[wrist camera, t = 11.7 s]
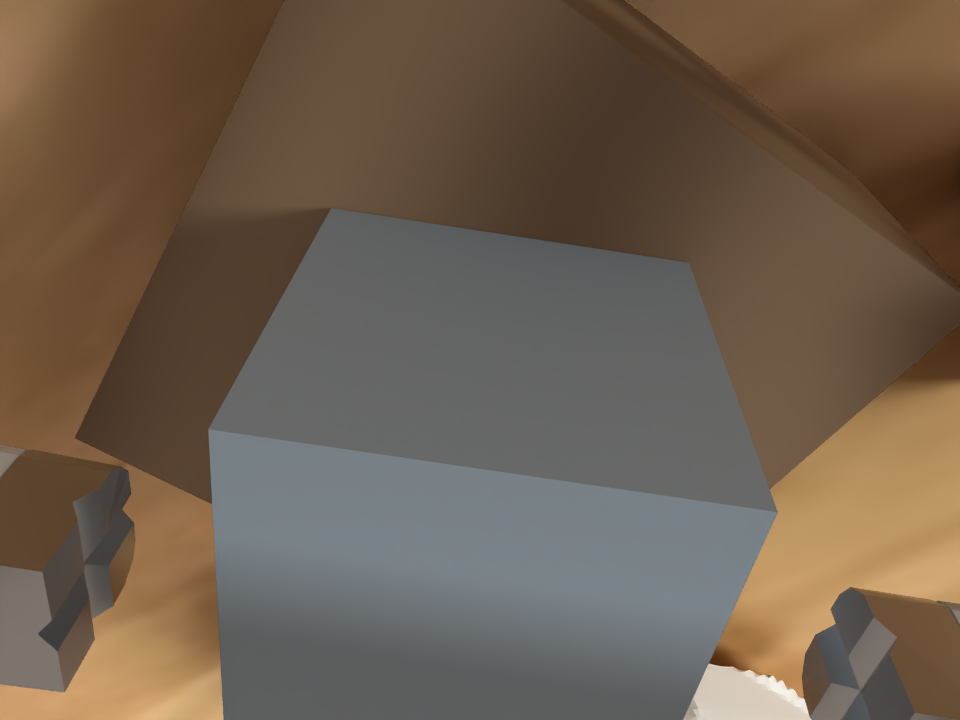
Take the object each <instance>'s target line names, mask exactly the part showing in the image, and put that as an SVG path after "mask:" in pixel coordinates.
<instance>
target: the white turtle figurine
mask: <svg viewBox="0 0 960 720" xmlns="http://www.w3.org/2000/svg"><path fill="white" fill-rule="evenodd" d="M683 720H812V719H811V718H810V717H809V713H808V710H807V706H806V703H805V699H804V698H800V697H799V696H797V694H796V692H795V691H794V690H793V689H791V688H786V686H785V684H784V682H783V681H782V680H776V679H775V677H773V676H772V675H758V674H756V673H754V672H753V671H750V670H739V669H736V668H734V667H733V666H731V667H724V666H717V665H713V664H708V666H707V669H706V671H705V673H704V675H703V677H702V680H701V682H700V684H699V686H698V688H697V691H696V693H695V695H694V697H693V699H692V702H691V704H690V706H689V708H688V710H687V712H686V715H685V717H684V719H683Z"/></svg>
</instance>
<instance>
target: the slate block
mask: <svg viewBox="0 0 960 720" xmlns="http://www.w3.org/2000/svg"><path fill="white" fill-rule="evenodd" d="M208 433H209V452H210V470H211V489H212V508H213V527H214V546H215V564H216V583H217V602H218V621H219V640H220V659H221V678H222V696H223V715H224V720H683V719H684V717H685V715H686V712H687V710H688V708H689V706H690V704H691V702H692V699H693V697H694V695H695V693H696V691H697V688H698V686H699V684H700V682H701V680H702V677H703V675H704V673H705V671H706V669H707V666H708V664H709V662H710V660H711V658H712V655H713V653H714V651H715V649H716V647H717V644H718V642H719V640H720V638H721V636H722V633H723V631H724V629H725V627H726V625H727V622H728V620H729V618H730V616H731V614H732V611H733V609H734V607H735V605H736V603H737V600H738V598H739V596H740V594H741V592H742V589H743V587H744V585H745V583H746V581H747V578H748V576H749V574H750V572H751V570H752V567H753V565H754V563H755V561H756V559H757V556H758V554H759V552H760V550H761V548H762V545H763V543H764V541H765V539H766V537H767V534H768V532H769V530H770V528H771V526H772V524H773V521H774V519H775V517H776V515H777V513H778V512H777V509H776V506H775V503H774V500H773V498H772V495H771V492H770V489H769V486H768V484H767V481H766V478H765V475H764V472H763V470H762V467H761V464H760V461H759V458H758V455H757V453H756V450H755V447H754V444H753V441H752V439H751V436H750V433H749V430H748V427H747V425H746V422H745V419H744V416H743V413H742V410H741V408H740V405H739V402H738V399H737V396H736V394H735V391H734V388H733V385H732V382H731V380H730V377H729V374H728V371H727V368H726V365H725V363H724V360H723V357H722V354H721V351H720V349H719V346H718V343H717V340H716V337H715V335H714V332H713V329H712V326H711V323H710V320H709V318H708V315H707V312H706V309H705V306H704V304H703V301H702V298H701V295H700V292H699V290H698V287H697V284H696V281H695V278H694V275H693V273H692V270H691V267H690V264H689V263H688V262H681V261H675V260H668V259H661V258H655V257H648V256H642V255H635V254H629V253H622V252H616V251H609V250H603V249H596V248H589V247H583V246H576V245H570V244H563V243H557V242H550V241H544V240H537V239H530V238H524V237H517V236H511V235H504V234H498V233H491V232H485V231H478V230H471V229H465V228H458V227H452V226H445V225H439V224H432V223H426V222H419V221H412V220H406V219H399V218H393V217H386V216H380V215H373V214H367V213H360V212H354V211H347V210H340V209H334V208H331V209H330V211H329V213H328V215H327V217H326V218H325V220H324V222H323V224H322V226H321V227H320V229H319V231H318V233H317V235H316V236H315V238H314V240H313V242H312V244H311V245H310V247H309V249H308V251H307V253H306V254H305V256H304V258H303V260H302V262H301V263H300V265H299V267H298V269H297V271H296V272H295V274H294V276H293V278H292V280H291V281H290V283H289V285H288V287H287V289H286V290H285V292H284V294H283V296H282V298H281V299H280V301H279V303H278V305H277V307H276V308H275V310H274V312H273V314H272V316H271V317H270V319H269V321H268V323H267V325H266V326H265V328H264V330H263V332H262V334H261V335H260V337H259V339H258V341H257V343H256V344H255V346H254V348H253V350H252V352H251V353H250V355H249V357H248V359H247V361H246V362H245V364H244V366H243V368H242V370H241V371H240V373H239V375H238V377H237V379H236V380H235V382H234V384H233V386H232V388H231V389H230V391H229V393H228V395H227V397H226V398H225V400H224V402H223V404H222V406H221V407H220V409H219V411H218V413H217V415H216V416H215V418H214V420H213V422H212V424H211V425H210V427H209V429H208Z"/></svg>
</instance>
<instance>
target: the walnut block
mask: <svg viewBox="0 0 960 720" xmlns="http://www.w3.org/2000/svg"><path fill="white" fill-rule="evenodd" d="M331 208H334V209H340V210H347V211H354V212H360V213H367V214H373V215H380V216H386V217H393V218H399V219H406V220H412V221H419V222H426V223H432V224H439V225H445V226H452V227H458V228H465V229H471V230H478V231H485V232H491V233H498V234H504V235H511V236H517V237H524V238H530V239H537V240H544V241H550V242H557V243H563V244H570V245H576V246H583V247H589V248H596V249H603V250H609V251H616V252H622V253H629V254H635V255H642V256H648V257H655V258H661V259H668V260H675V261H681V262H688V263H689V264H690V267H691V270H692V273H693V275H694V278H695V281H696V284H697V287H698V290H699V292H700V295H701V298H702V301H703V304H704V306H705V309H706V312H707V315H708V318H709V320H710V323H711V326H712V329H713V332H714V335H715V337H716V340H717V343H718V346H719V349H720V351H721V354H722V357H723V360H724V363H725V365H726V368H727V371H728V374H729V377H730V380H731V382H732V385H733V388H734V391H735V394H736V396H737V399H738V402H739V405H740V408H741V410H742V413H743V416H744V419H745V422H746V425H747V427H748V430H749V433H750V436H751V439H752V441H753V444H754V447H755V450H756V453H757V455H758V458H759V461H760V464H761V467H762V470H763V472H764V475H765V478H766V481H767V484H768V486H769V489H770V488H772V487H773V486H774V485H775V484H776V483H777V482H778V481H780V480H781V479H782V478H783V477H784V476H785V475H787V474H788V473H789V472H790V471H791V470H792V469H793V468H795V467H796V466H797V465H798V464H799V463H800V462H802V461H803V460H804V459H805V458H806V457H807V456H808V455H810V454H811V453H812V452H813V451H814V450H815V449H817V448H818V447H819V446H820V445H821V444H822V443H824V442H825V441H826V440H827V439H828V438H829V437H830V436H832V435H833V434H834V433H835V432H836V431H837V430H839V429H840V428H841V427H842V426H843V425H844V424H845V423H847V422H848V421H849V420H850V419H851V418H852V417H854V416H855V415H856V414H857V413H858V412H859V411H861V410H862V409H863V408H864V407H865V406H866V405H867V404H869V403H870V402H871V401H872V400H873V399H874V398H876V397H877V396H878V395H879V394H880V393H881V392H882V391H884V390H885V389H886V388H887V387H888V386H889V385H891V384H892V383H893V382H894V381H895V380H896V379H898V378H899V377H900V376H901V375H902V374H903V373H904V372H906V371H907V370H908V369H909V368H910V367H911V366H913V365H914V364H915V363H916V362H917V361H918V360H919V359H921V358H922V357H923V356H924V355H925V354H926V353H928V352H929V351H930V350H931V349H932V348H933V347H934V346H936V345H937V344H938V343H939V342H940V341H941V340H943V339H944V338H945V337H946V336H947V335H948V334H950V333H951V332H952V331H953V330H954V329H955V328H956V327H958V326H959V325H960V287H959V286H958V285H957V283H956V282H955V281H954V280H953V279H952V278H951V277H950V276H949V275H948V274H947V273H946V272H945V271H944V270H943V269H942V268H941V267H940V266H939V264H938V263H937V262H936V261H935V260H934V259H933V258H932V257H931V256H930V255H929V254H928V253H927V252H926V251H925V250H924V249H923V248H922V246H921V245H920V244H919V243H918V242H917V241H916V240H915V239H914V238H913V237H912V236H911V235H910V234H909V233H908V232H907V231H906V230H905V229H904V227H903V226H902V225H901V224H900V223H899V222H898V221H897V220H896V219H895V218H894V217H893V216H892V215H891V214H890V213H889V212H888V211H887V209H886V208H885V207H884V206H883V205H882V204H881V203H880V202H879V201H878V200H877V199H876V198H875V197H874V196H873V195H872V194H871V193H870V192H869V190H868V189H867V188H866V187H865V186H864V185H863V184H862V183H861V182H860V181H859V180H858V179H857V178H856V177H855V176H854V175H853V174H852V172H851V171H850V170H849V169H848V168H846V167H845V166H844V165H842V164H841V163H840V162H838V161H837V160H836V159H834V158H833V157H832V156H830V155H829V154H828V153H826V152H825V151H824V150H822V149H821V148H820V147H818V146H817V145H816V144H814V143H813V142H812V141H810V140H809V139H808V138H806V137H805V136H804V135H802V134H801V133H800V132H798V131H797V130H796V129H794V128H793V127H792V126H790V125H789V124H788V123H786V122H785V121H784V120H782V119H781V118H780V117H779V116H777V115H776V114H775V113H773V112H772V111H771V110H769V109H768V108H767V107H765V106H764V105H763V104H761V103H760V102H759V101H757V100H756V99H755V98H753V97H752V96H751V95H749V94H748V93H747V92H745V91H744V90H743V89H741V88H740V87H739V86H737V85H736V84H735V83H733V82H732V81H731V80H729V79H728V78H727V77H725V76H724V75H723V74H721V73H720V72H719V71H717V70H716V69H715V68H713V67H712V66H711V65H709V64H708V63H707V62H705V61H704V60H703V59H701V58H700V57H699V56H697V55H696V54H695V53H693V52H692V51H691V50H689V49H688V48H687V47H685V46H684V45H683V44H681V43H680V42H679V41H677V40H676V39H675V38H673V37H672V36H671V35H669V34H668V33H667V32H665V31H664V30H663V29H662V28H660V27H659V26H658V25H656V24H655V23H654V22H652V21H651V20H650V19H648V18H647V17H646V16H644V15H643V14H642V13H640V12H639V11H638V10H636V9H635V8H634V7H632V6H631V5H630V4H628V3H627V2H626V1H624V0H284V2H283V4H282V6H281V8H280V11H279V13H278V15H277V17H276V19H275V21H274V23H273V25H272V27H271V29H270V31H269V34H268V36H267V38H266V40H265V42H264V44H263V46H262V48H261V50H260V52H259V54H258V57H257V59H256V61H255V63H254V65H253V67H252V69H251V71H250V73H249V75H248V77H247V79H246V82H245V84H244V86H243V88H242V90H241V92H240V94H239V96H238V98H237V100H236V102H235V105H234V107H233V109H232V111H231V113H230V115H229V117H228V119H227V121H226V123H225V125H224V128H223V130H222V132H221V134H220V136H219V138H218V140H217V142H216V144H215V146H214V148H213V150H212V153H211V155H210V157H209V159H208V161H207V163H206V165H205V167H204V169H203V171H202V173H201V176H200V178H199V180H198V182H197V184H196V186H195V188H194V190H193V192H192V194H191V196H190V198H189V201H188V203H187V205H186V207H185V209H184V211H183V213H182V215H181V217H180V219H179V221H178V224H177V226H176V228H175V230H174V232H173V234H172V236H171V238H170V240H169V242H168V244H167V247H166V249H165V251H164V253H163V255H162V257H161V259H160V261H159V263H158V265H157V267H156V269H155V272H154V274H153V276H152V278H151V280H150V282H149V284H148V286H147V288H146V290H145V292H144V295H143V297H142V299H141V301H140V303H139V305H138V307H137V309H136V311H135V313H134V315H133V318H132V320H131V322H130V324H129V326H128V328H127V330H126V332H125V334H124V336H123V338H122V340H121V343H120V345H119V347H118V349H117V351H116V353H115V355H114V357H113V359H112V361H111V363H110V366H109V368H108V370H107V372H106V374H105V376H104V378H103V380H102V382H101V384H100V386H99V389H98V391H97V393H96V395H95V397H94V399H93V401H92V403H91V405H90V407H89V409H88V411H87V414H86V416H85V418H84V420H83V422H82V424H81V426H80V428H79V430H78V432H77V434H76V437H75V438H76V439H78V440H80V441H82V442H84V443H86V444H88V445H90V446H93V447H95V448H97V449H99V450H101V451H103V452H105V453H107V454H109V455H111V456H113V457H115V458H117V459H120V460H122V461H124V462H126V463H128V464H130V465H132V466H134V467H136V468H138V469H140V470H142V471H144V472H147V473H149V474H151V475H153V476H155V477H157V478H159V479H161V480H163V481H165V482H167V483H169V484H171V485H173V486H176V487H178V488H180V489H182V490H184V491H186V492H188V493H190V494H192V495H194V496H196V497H198V498H200V499H203V500H205V501H207V502H209V503H211V504H212V489H211V470H210V452H209V433H208V429H209V427H210V425H211V424H212V422H213V420H214V418H215V416H216V415H217V413H218V411H219V409H220V407H221V406H222V404H223V402H224V400H225V398H226V397H227V395H228V393H229V391H230V389H231V388H232V386H233V384H234V382H235V380H236V379H237V377H238V375H239V373H240V371H241V370H242V368H243V366H244V364H245V362H246V361H247V359H248V357H249V355H250V353H251V352H252V350H253V348H254V346H255V344H256V343H257V341H258V339H259V337H260V335H261V334H262V332H263V330H264V328H265V326H266V325H267V323H268V321H269V319H270V317H271V316H272V314H273V312H274V310H275V308H276V307H277V305H278V303H279V301H280V299H281V298H282V296H283V294H284V292H285V290H286V289H287V287H288V285H289V283H290V281H291V280H292V278H293V276H294V274H295V272H296V271H297V269H298V267H299V265H300V263H301V262H302V260H303V258H304V256H305V254H306V253H307V251H308V249H309V247H310V245H311V244H312V242H313V240H314V238H315V236H316V235H317V233H318V231H319V229H320V227H321V226H322V224H323V222H324V220H325V218H326V217H327V215H328V213H329V211H330V209H331Z"/></svg>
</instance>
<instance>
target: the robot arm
mask: <svg viewBox="0 0 960 720" xmlns="http://www.w3.org/2000/svg"><path fill="white" fill-rule="evenodd" d="M130 495H131V488H130V481H129V474H128V471H127V470H125V469H124V468H122V467H121V466H116V465H110V464H105V463H100V462H95V461H89V460H84V459H79V458H74V457H68V456H63V455H58V454H53V453H47V452H42V451H37V450H26V449H21V448H16V447H11V446H6V445H0V684H3V685H11V686H18V687H26V688H34V689H42V690H50V691H57V692H65V691H66V689H67V687H68V686H69V684H70V682H71V680H72V678H73V677H74V675H75V673H76V671H77V670H78V668H79V666H80V664H81V663H82V661H83V659H84V657H85V656H86V654H87V652H88V650H89V648H90V647H91V645H92V643H93V641H94V640H95V638H94V631H93V623H92V618H94V617H96V616H97V615H99V614H101V613H102V612H104V611H106V610H107V609H109V608H111V607H112V606H114V604H115V602H116V600H117V598H118V596H119V594H120V592H121V591H122V589H123V587H124V585H125V582H126V579H127V576H128V573H129V570H130V566H131V563H132V560H133V554H134V545H135V531H134V523H133V522H132V520H131V519H130V518H129V517H128V516H127V515H126V514H125V513H124V511H123V510H122V508H123V506H124V505H125V503H126V501H127V500H128V498H129V496H130ZM831 611H832V614H833V617H834V620H835V622H836V624H835V625H833V626H831V627H829V628H828V629H826V630H824V631H822V632H820V633H818V634H816V635H815V637H814V639H813V641H812V642H811V644H810V646H809V648H808V650H807V652H806V654H805V660H804V667H803V674H802V683H803V693H804V699H805V703H806V706H807V710H808V713H809V717H810V718H811V719H812V720H960V604H956V603H950V602H943V601H933V600H929V599H923V598H916V597H910V596H903V595H897V594H891V593H884V592H878V591H871V590H865V589H859V588H852V587H850V588H849V589H847V590H846V591H844V592H842V593H841V594H840V595H839V596H838V598H837V600H836V601H835V603H834V605H833V606H832V608H831Z"/></svg>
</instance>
